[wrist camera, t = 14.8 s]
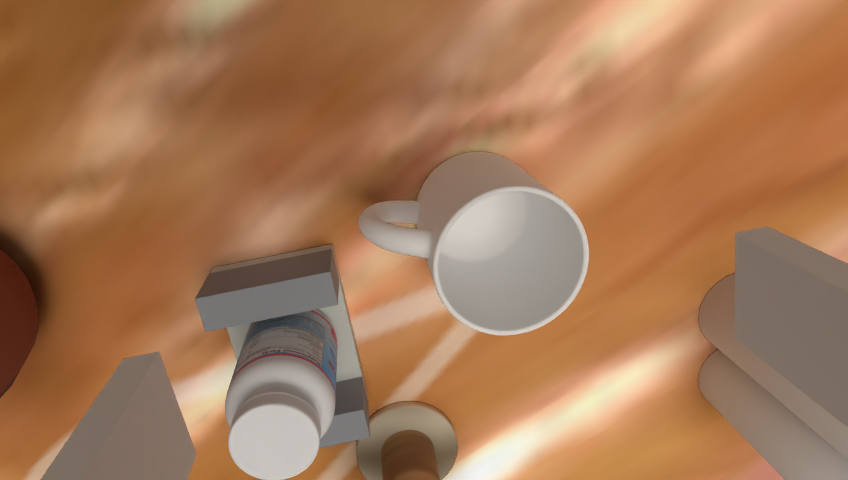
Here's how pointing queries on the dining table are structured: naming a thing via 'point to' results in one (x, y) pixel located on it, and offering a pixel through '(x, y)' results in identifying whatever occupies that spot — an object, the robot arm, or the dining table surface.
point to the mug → (488, 242)
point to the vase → (766, 400)
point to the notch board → (284, 295)
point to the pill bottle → (282, 394)
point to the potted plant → (15, 320)
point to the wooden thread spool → (407, 443)
